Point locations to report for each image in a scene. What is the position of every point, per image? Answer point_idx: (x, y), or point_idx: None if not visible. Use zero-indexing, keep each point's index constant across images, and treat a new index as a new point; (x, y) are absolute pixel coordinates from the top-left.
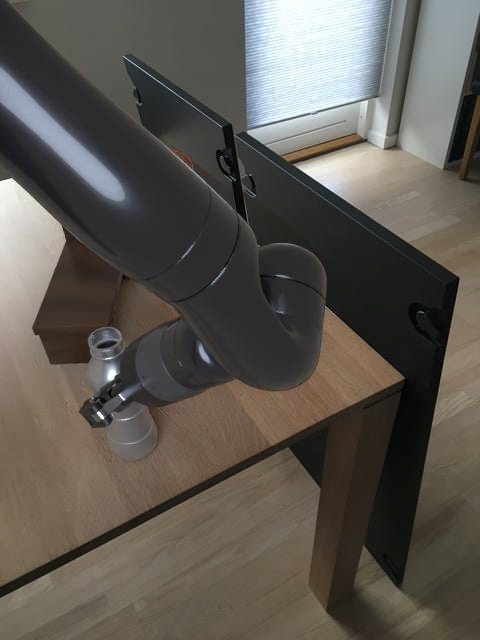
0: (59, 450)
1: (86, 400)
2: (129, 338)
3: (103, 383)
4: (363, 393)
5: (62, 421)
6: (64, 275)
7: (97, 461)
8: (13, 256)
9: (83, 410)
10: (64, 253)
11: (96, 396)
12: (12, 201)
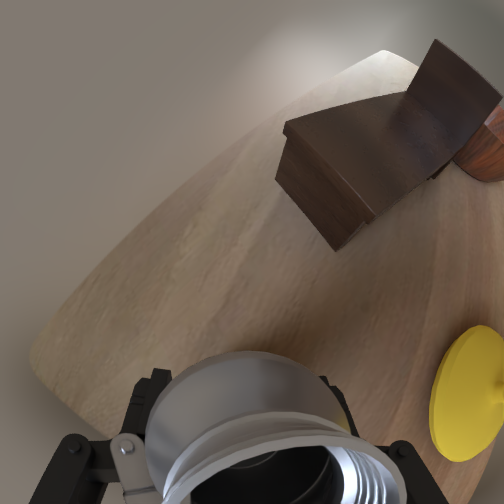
0: (162, 297)
1: (161, 374)
2: (375, 239)
3: (158, 489)
4: None
5: (205, 263)
6: (380, 109)
7: (175, 363)
8: (349, 74)
9: (36, 489)
10: (396, 96)
11: (119, 475)
12: (380, 56)
